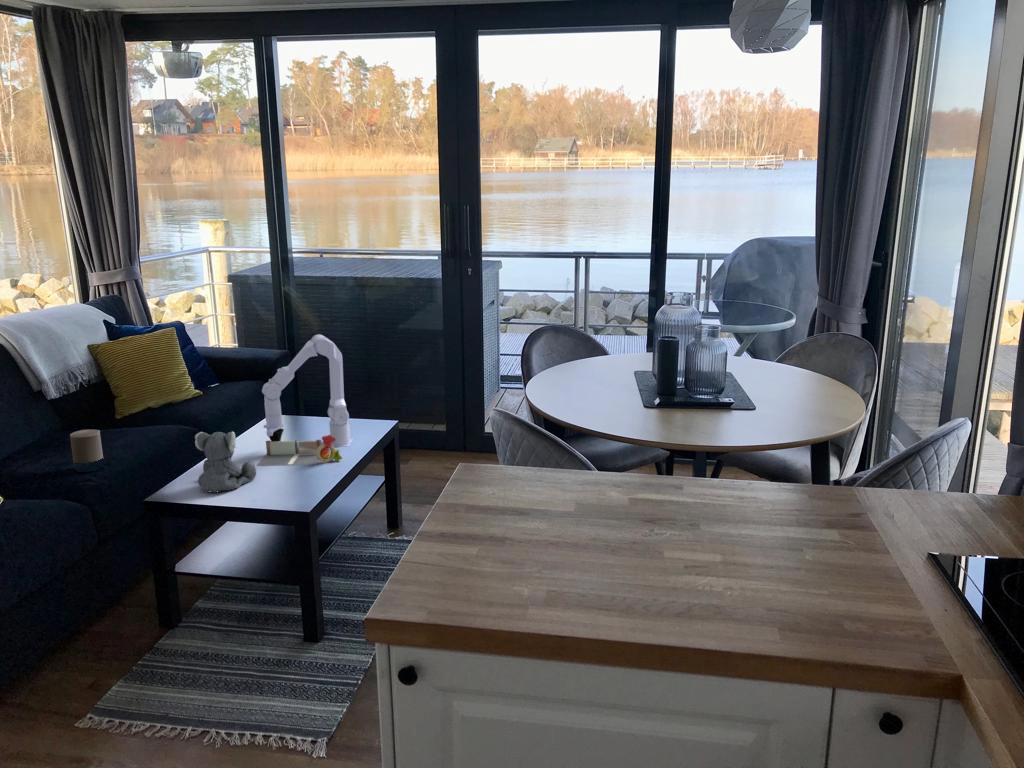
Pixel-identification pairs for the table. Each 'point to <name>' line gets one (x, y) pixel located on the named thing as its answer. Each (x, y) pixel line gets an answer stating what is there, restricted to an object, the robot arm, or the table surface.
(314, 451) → the fence fixed section
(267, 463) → the board
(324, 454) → the bird rattle
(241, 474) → the koala plush
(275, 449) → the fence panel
